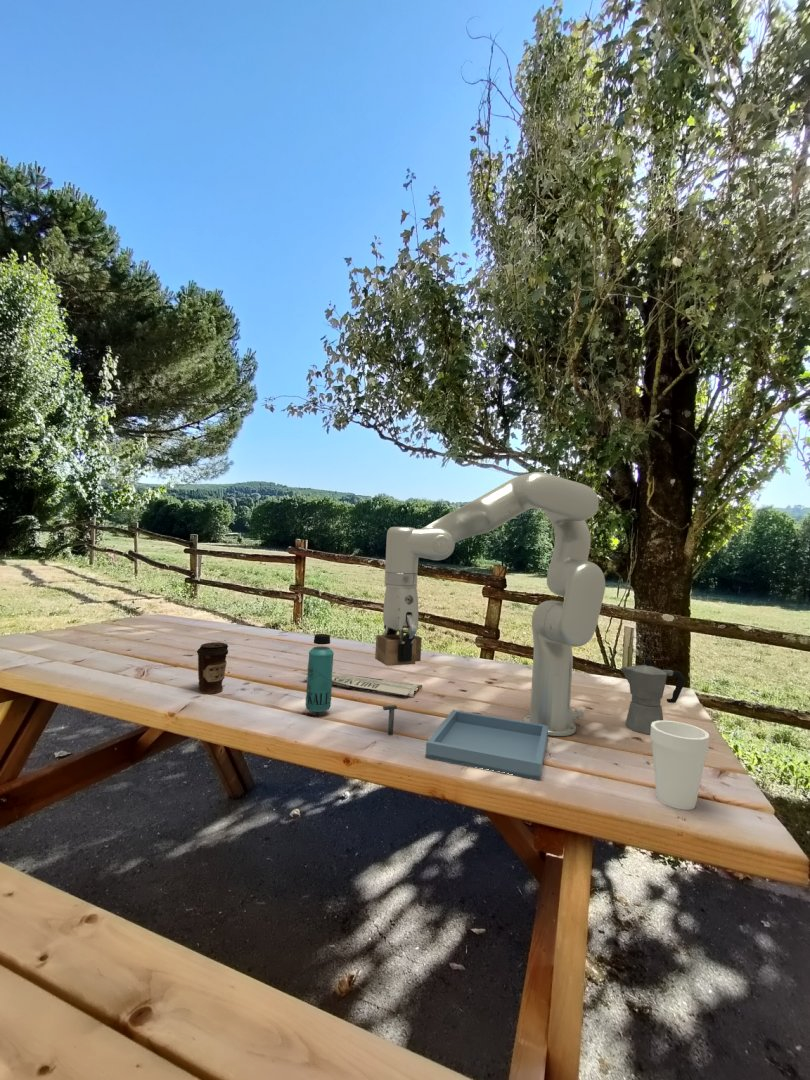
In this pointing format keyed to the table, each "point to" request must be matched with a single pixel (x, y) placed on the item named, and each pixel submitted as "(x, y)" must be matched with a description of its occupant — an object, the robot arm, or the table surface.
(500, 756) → the slate tray
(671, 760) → the foam cup
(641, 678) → the coffeepot
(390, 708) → the t head stake
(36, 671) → the table surface
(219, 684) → the coffee cup
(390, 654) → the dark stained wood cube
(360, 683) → the newspaper
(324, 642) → the beverage bottle
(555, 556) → the robot arm
